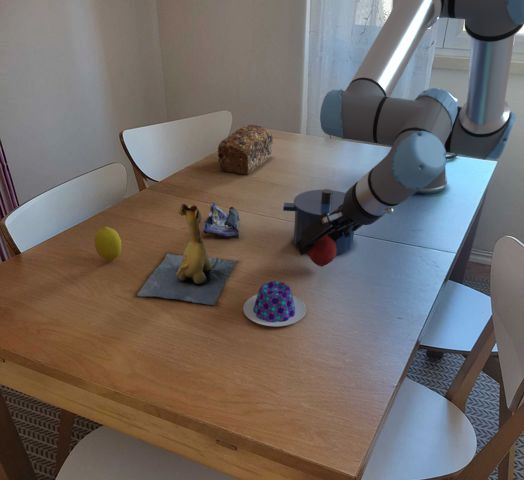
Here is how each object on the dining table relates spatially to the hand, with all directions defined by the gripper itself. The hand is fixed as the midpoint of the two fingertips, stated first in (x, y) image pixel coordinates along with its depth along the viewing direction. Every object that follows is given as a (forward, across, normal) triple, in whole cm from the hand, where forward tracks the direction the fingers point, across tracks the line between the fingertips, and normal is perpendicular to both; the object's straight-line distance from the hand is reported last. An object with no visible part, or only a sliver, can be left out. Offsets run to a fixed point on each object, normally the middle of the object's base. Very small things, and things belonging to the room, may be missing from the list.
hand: (312, 245), depth 117 cm
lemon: (+20, -37, +13) cm, 44 cm away
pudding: (-5, -17, -12) cm, 21 cm away
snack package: (+21, -8, +14) cm, 27 cm away
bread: (+48, +20, +41) cm, 66 cm away
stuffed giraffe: (+9, -25, +2) cm, 27 cm away
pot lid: (+2, +9, +8) cm, 12 cm away
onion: (0, 0, -5) cm, 5 cm away
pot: (+9, +9, +2) cm, 12 cm away
